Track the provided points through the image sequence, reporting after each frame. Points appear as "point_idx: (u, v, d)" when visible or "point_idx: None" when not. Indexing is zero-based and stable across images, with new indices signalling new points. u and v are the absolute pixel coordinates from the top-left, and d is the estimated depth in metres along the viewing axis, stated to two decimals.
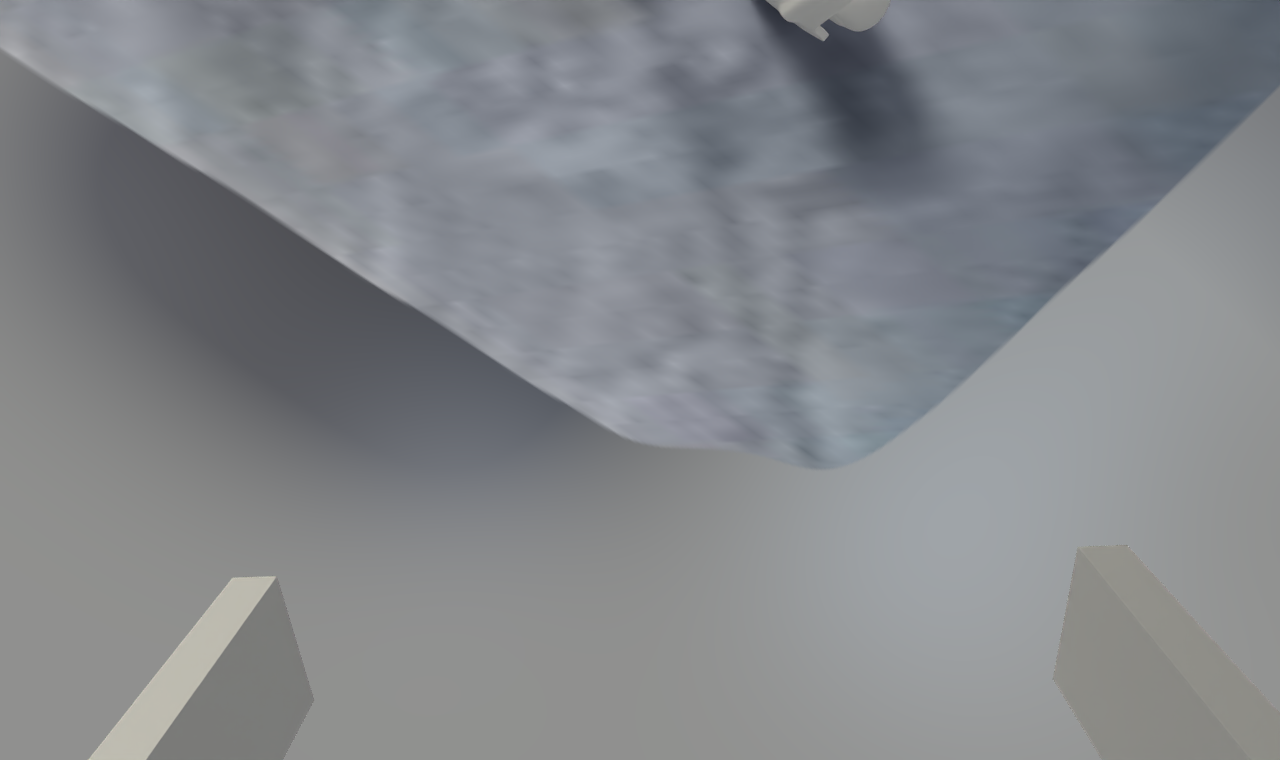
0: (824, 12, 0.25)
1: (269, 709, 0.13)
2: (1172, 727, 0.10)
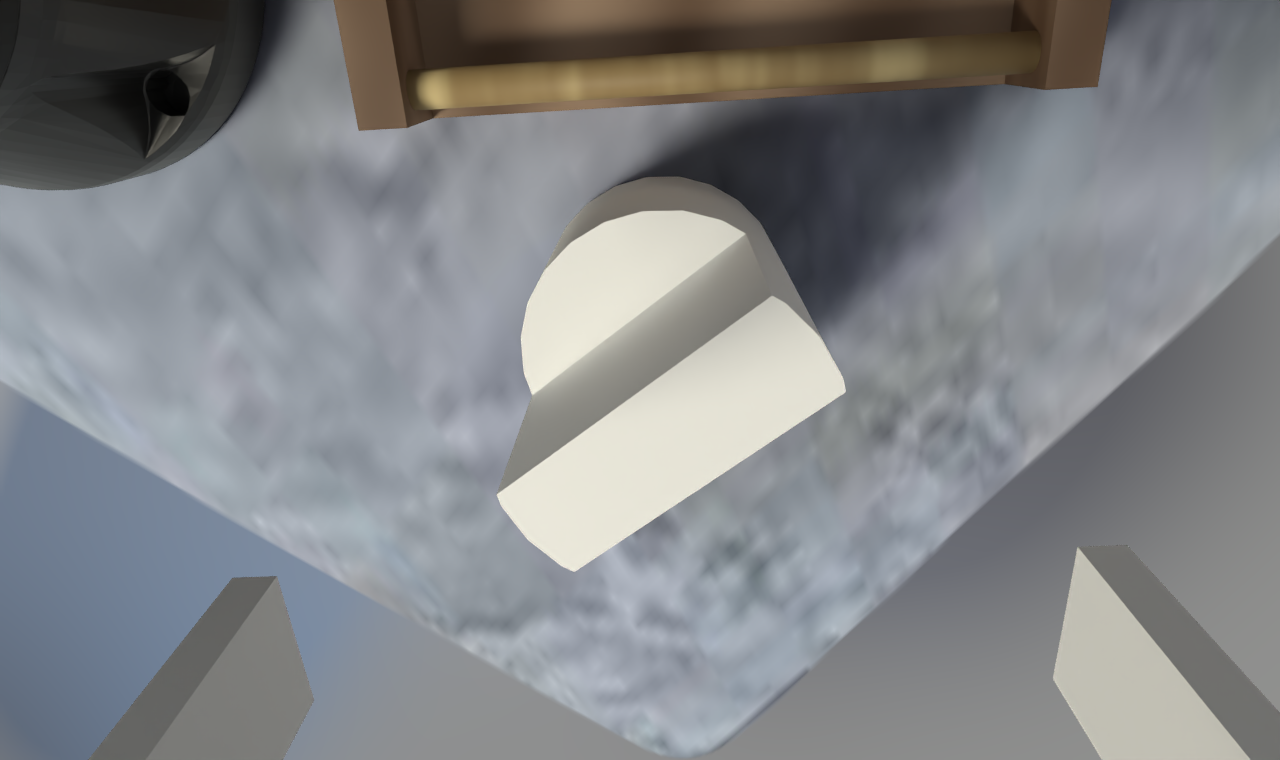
0: None
1: (269, 709, 0.13)
2: (1172, 727, 0.10)
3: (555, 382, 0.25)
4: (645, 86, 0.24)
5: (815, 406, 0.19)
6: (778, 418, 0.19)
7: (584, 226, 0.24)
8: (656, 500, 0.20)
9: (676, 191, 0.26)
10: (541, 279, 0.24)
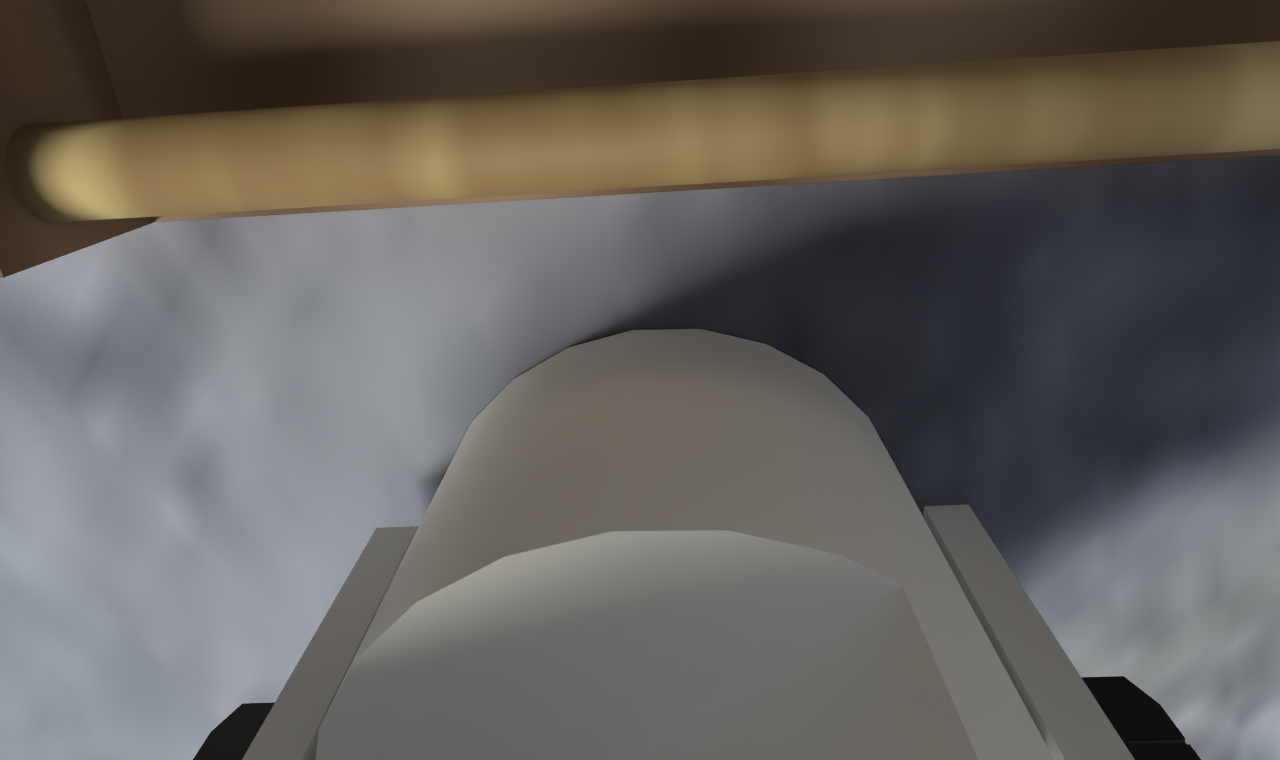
0: None
1: None
2: None
3: None
4: (621, 167, 0.09)
5: None
6: None
7: (469, 519, 0.10)
8: None
9: (700, 402, 0.11)
10: (348, 681, 0.09)
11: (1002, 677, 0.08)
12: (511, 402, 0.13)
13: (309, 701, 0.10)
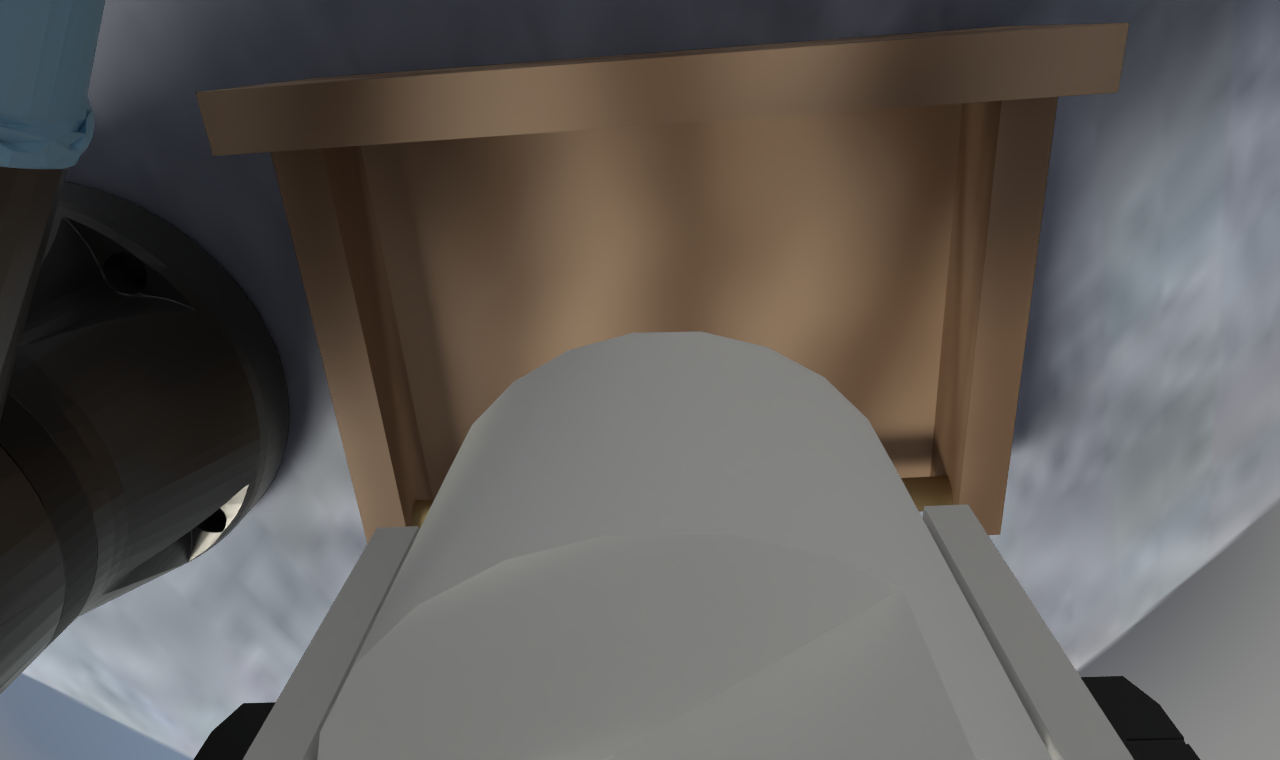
0: None
1: None
2: None
3: None
4: None
5: None
6: None
7: (470, 522, 0.10)
8: None
9: (700, 405, 0.11)
10: (349, 684, 0.09)
11: (1001, 680, 0.08)
12: (511, 405, 0.13)
13: (310, 701, 0.10)
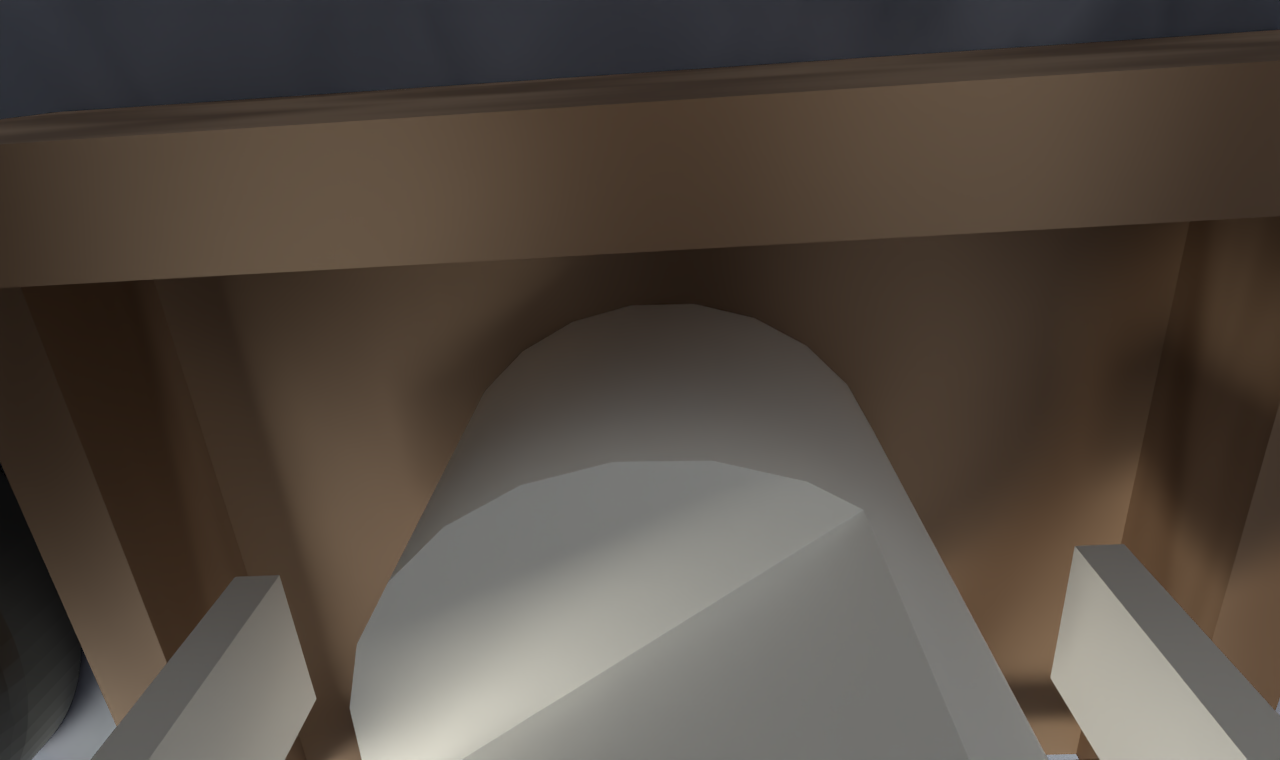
0: None
1: (272, 708, 0.13)
2: (1168, 726, 0.10)
3: None
4: None
5: None
6: None
7: (488, 462, 0.11)
8: None
9: (691, 363, 0.12)
10: (383, 599, 0.10)
11: (949, 588, 0.10)
12: (521, 369, 0.14)
13: None
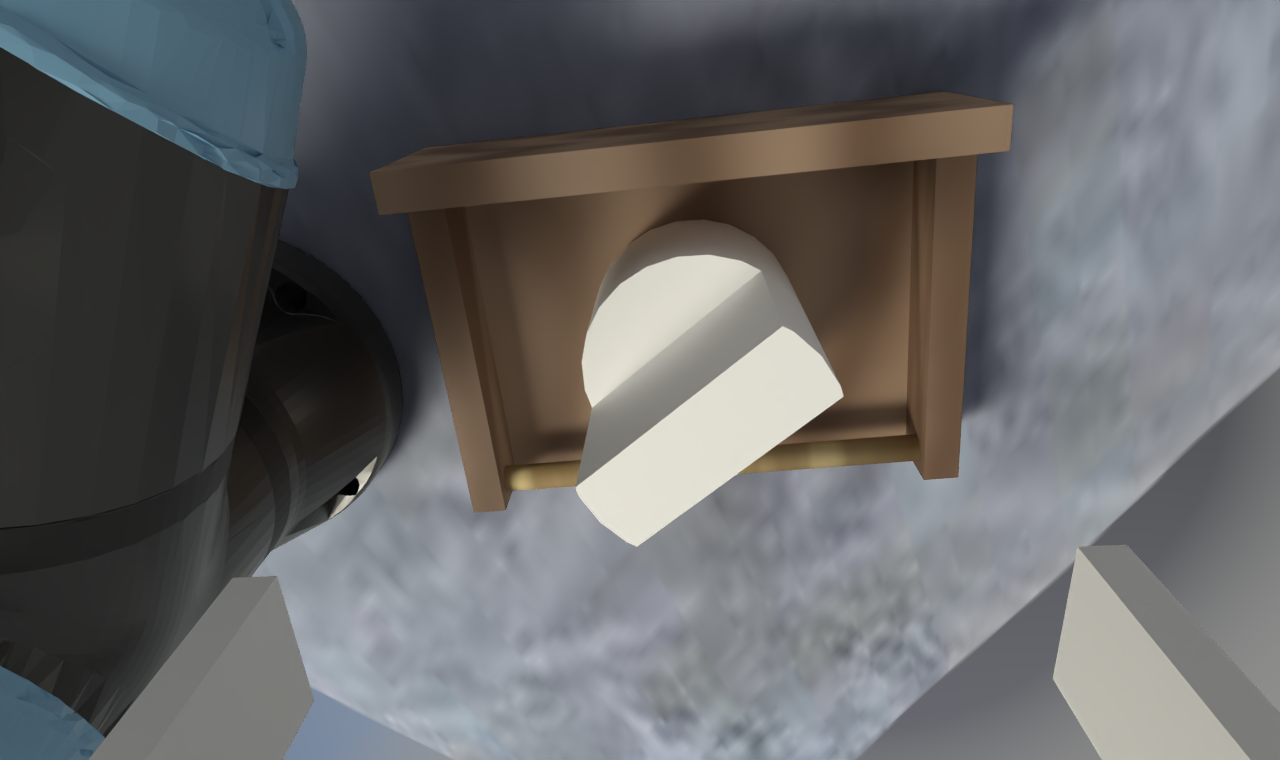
0: None
1: (269, 709, 0.13)
2: (1172, 728, 0.10)
3: (611, 396, 0.30)
4: None
5: (820, 408, 0.24)
6: (792, 419, 0.24)
7: (629, 269, 0.30)
8: (700, 487, 0.25)
9: (702, 235, 0.31)
10: (597, 314, 0.30)
11: (790, 295, 0.29)
12: (630, 248, 0.33)
13: None
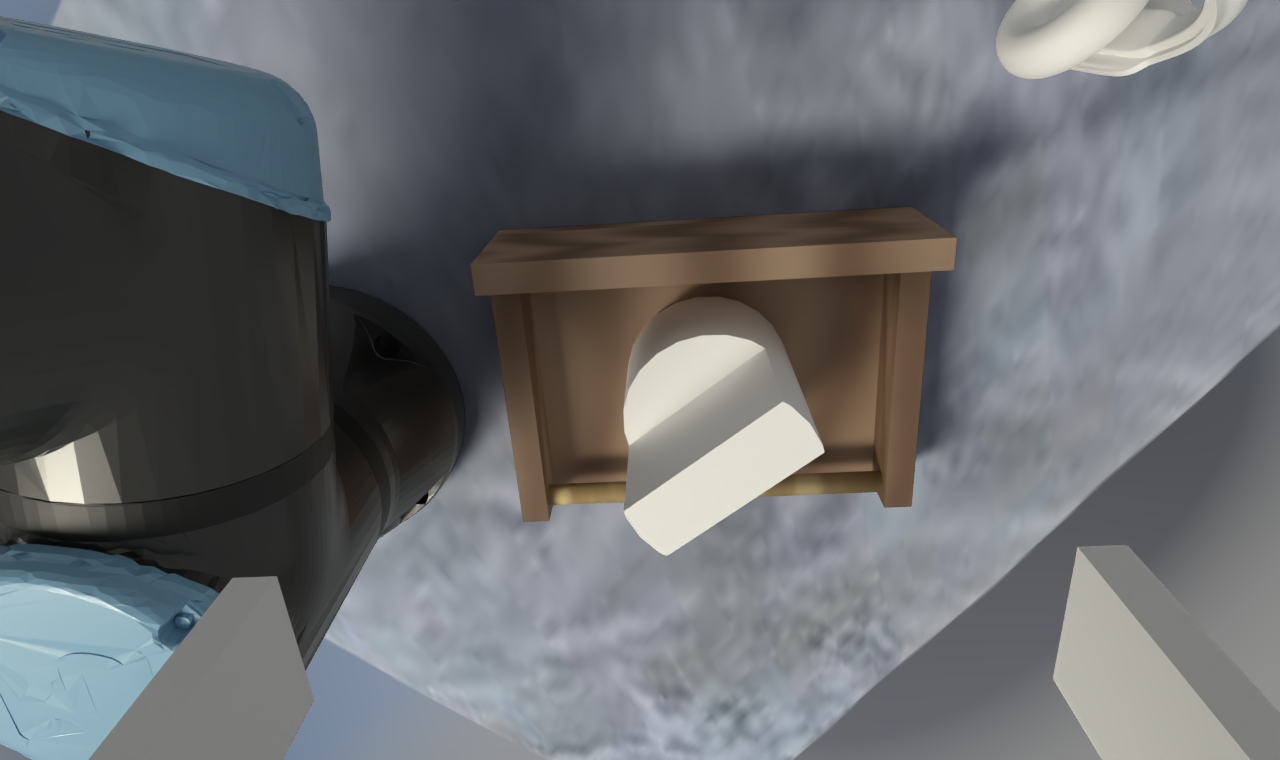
0: None
1: (269, 709, 0.13)
2: (1172, 728, 0.10)
3: (645, 438, 0.39)
4: None
5: (807, 460, 0.33)
6: (786, 467, 0.33)
7: (663, 340, 0.39)
8: (716, 514, 0.34)
9: (719, 314, 0.40)
10: (637, 375, 0.38)
11: (786, 367, 0.38)
12: (661, 318, 0.42)
13: None
